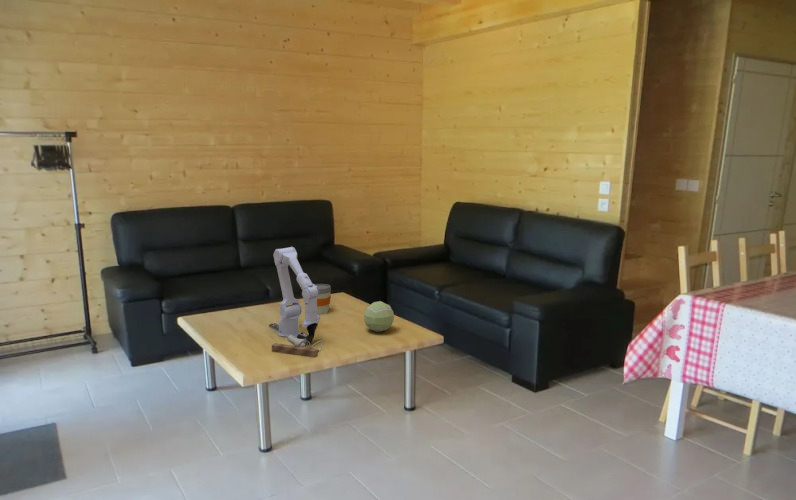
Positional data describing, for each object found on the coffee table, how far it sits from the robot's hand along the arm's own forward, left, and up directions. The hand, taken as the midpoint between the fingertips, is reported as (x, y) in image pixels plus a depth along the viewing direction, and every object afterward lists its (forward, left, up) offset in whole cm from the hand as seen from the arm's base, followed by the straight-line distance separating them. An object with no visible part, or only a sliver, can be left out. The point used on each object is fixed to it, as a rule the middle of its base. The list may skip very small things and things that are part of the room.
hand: (311, 338), depth 278 cm
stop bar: (-1, -15, -2) cm, 15 cm away
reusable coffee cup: (-19, +47, -3) cm, 50 cm away
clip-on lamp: (+1, -7, -3) cm, 8 cm away
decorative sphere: (+24, +28, -3) cm, 37 cm away
